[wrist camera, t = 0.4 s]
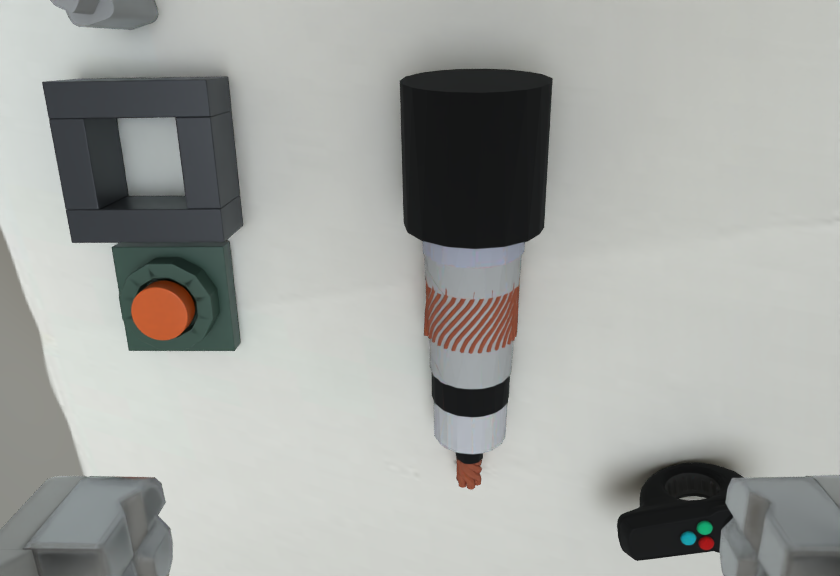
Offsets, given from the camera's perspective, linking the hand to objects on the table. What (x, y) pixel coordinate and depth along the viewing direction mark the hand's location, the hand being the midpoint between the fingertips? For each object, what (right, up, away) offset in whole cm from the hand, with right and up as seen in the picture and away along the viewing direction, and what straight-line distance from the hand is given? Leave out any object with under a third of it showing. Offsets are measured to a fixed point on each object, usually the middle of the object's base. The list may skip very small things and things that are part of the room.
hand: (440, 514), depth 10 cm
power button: (-20, +2, +45) cm, 49 cm away
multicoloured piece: (+4, +3, +47) cm, 47 cm away
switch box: (-20, +3, +48) cm, 52 cm away
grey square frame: (-20, +14, +44) cm, 51 cm away
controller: (+22, -14, +52) cm, 58 cm away
